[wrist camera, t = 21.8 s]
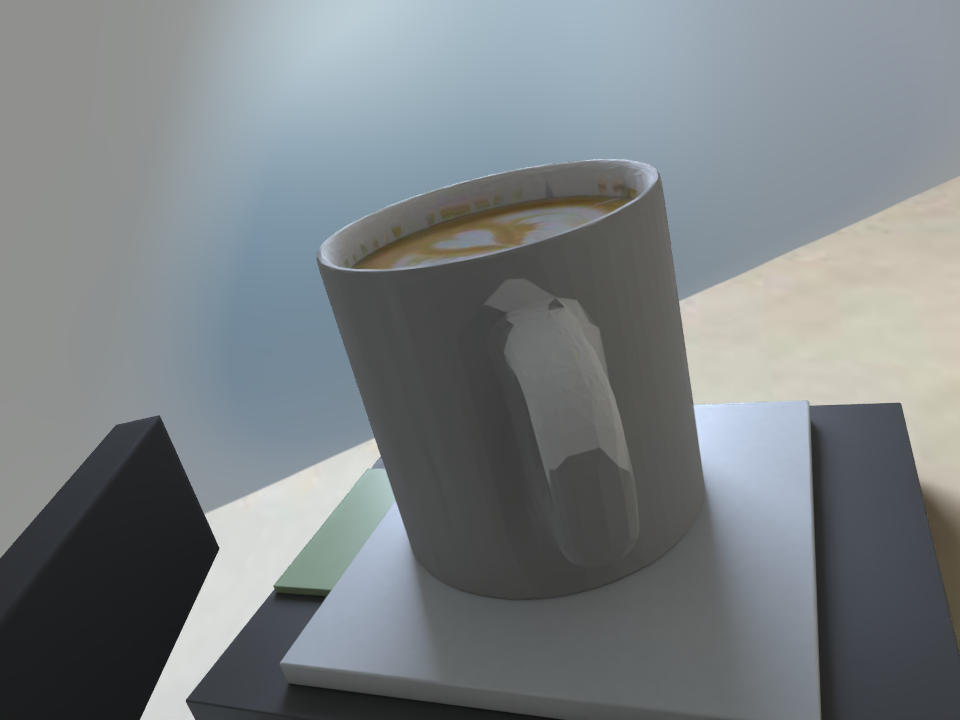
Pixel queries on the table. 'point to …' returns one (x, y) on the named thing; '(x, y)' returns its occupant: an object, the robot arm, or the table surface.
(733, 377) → the table surface
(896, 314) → the table surface
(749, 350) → the table surface
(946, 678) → the scale
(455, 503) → the coffee mug
